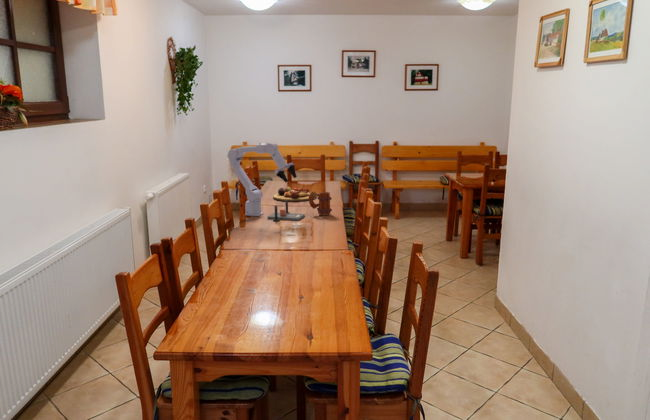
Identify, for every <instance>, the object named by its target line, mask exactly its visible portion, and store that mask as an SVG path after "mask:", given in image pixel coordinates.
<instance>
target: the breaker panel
mask: <svg viewBox="0 0 650 420" xmlns="http://www.w3.org/2000/svg"><path fill="white" fill-rule="evenodd" d="M277 215H278V219H280V220H281V221H282V220H283V221H292V222H293V221H296V222H297V221H298V222H299V221H301V220H302V219H303V218H305V217H306V214H305V213H291V212H290V213H286V215H285V216H282V215H280V212H277ZM266 218H267V220H273V219H275V212H273V213H271V214H270V215H268V216H267V217H266Z"/></svg>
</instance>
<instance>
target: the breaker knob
mask: <svg viewBox="0 0 650 420" xmlns="http://www.w3.org/2000/svg"><path fill="white" fill-rule="evenodd" d="M279 213H280V215H282V216H285V215H286V208H280V209H279Z"/></svg>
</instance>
